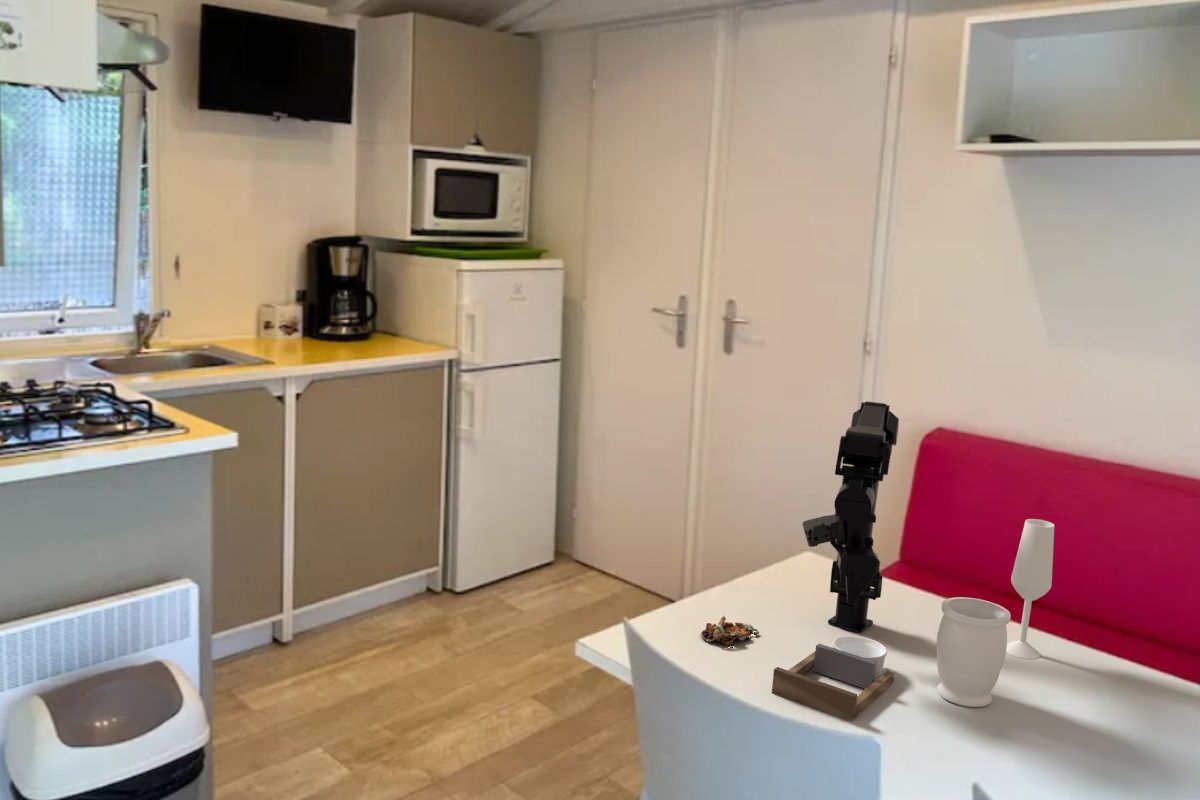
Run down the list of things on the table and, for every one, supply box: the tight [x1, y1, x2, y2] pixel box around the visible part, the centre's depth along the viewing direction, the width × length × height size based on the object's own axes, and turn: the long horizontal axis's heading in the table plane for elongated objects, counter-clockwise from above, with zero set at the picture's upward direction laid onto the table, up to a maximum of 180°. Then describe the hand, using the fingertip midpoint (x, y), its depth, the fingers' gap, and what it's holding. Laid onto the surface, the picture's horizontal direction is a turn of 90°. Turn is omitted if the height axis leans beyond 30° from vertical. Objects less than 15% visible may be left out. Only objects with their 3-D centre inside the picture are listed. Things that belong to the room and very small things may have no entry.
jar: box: [936, 596, 1012, 708], centre depth 167 cm, size 11×10×15 cm
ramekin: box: [832, 635, 888, 679], centre depth 175 cm, size 9×9×4 cm
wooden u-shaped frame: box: [771, 651, 896, 722], centre depth 168 cm, size 17×13×4 cm
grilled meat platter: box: [699, 615, 759, 651], centre depth 186 cm, size 7×12×4 cm, turn 137°
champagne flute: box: [1006, 518, 1055, 660], centre depth 186 cm, size 7×7×24 cm
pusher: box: [812, 643, 876, 690], centre depth 171 cm, size 2×10×4 cm, turn 54°
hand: (847, 592), depth 177 cm, fingers open, 9 cm apart
